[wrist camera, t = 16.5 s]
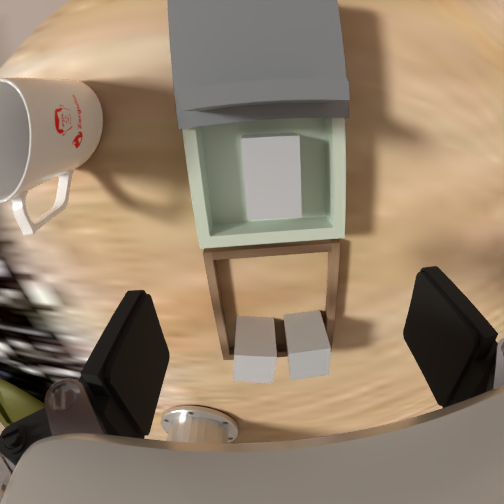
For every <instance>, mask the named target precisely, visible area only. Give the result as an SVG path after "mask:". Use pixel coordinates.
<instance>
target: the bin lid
mask: <svg viewBox="0 0 504 504" xmlns="http://www.w3.org/2000/svg"><path fill="white" fill-rule="evenodd" d="M168 20H169V36H170V50H171V62H172V73H173V84H174V94H175V104H176V113H177V121H178V129H185V128H191V127H198V126H206V125H214V124H223V123H232V122H243V121H255V120H269V119H288V118H349V107H348V100H350V93H349V79H347V78H346V66H345V56H344V47H343V38H342V30H341V23H340V16H339V9H338V3H337V0H168Z"/></svg>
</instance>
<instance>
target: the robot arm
mask: <svg viewBox="0 0 504 504" xmlns="http://www.w3.org/2000/svg"><path fill="white" fill-rule="evenodd" d="M403 335H404V339H405V341H406V343H407V345H408V347H409V349H410V350H411V352H412V354H413V356H414V358H415V360H416V362H417V363H418V365H419V367H420V369H421V371H422V373H423V375H424V377H425V379H426V381H427V383H428V385H429V387H430V389H431V391H432V393H433V395H434V397H435V399H436V401H437V403H438V404H439V405H440V406H442V407H443V408H442V409H439V410H436V411H433V412H430V413H427V414H423V415H420V416H417V417H413V418H410V419H406V420H402V421H399V422H395V423H391V424H386V425H382V426H378V427H373V428H369V429H364V430H359V431H354V432H348V433H343V434H337V435H330V436H323V437H316V438H308V439H299V440H289V441H276V442H260V443H230V442H232V441H233V440H235V438H236V437H237V435H238V425H237V423H236V422H235V421H234V420H233V419H232V418H231V417H229V416H228V415H226V414H224V413H222V412H220V411H217V410H214V409H210V408H206V407H200V406H179V407H174V408H171V409H169V410H167V411H166V412H165V413H164V414H163V416H162V420H161V424H162V427H163V429H164V430H165V431H166V432H167V433H168V438H167V441H160V440H149V439H144V436H145V435H148V434H149V433H150V429H151V425H152V421H153V418H154V414H155V410H156V406H157V402H158V399H159V395H160V391H161V388H162V384H163V380H164V377H165V373H166V370H167V366H168V363H169V350H168V347H167V344H166V341H165V338H164V336H163V333H162V330H161V327H160V323H159V320H158V317H157V314H156V311H155V308H154V304H153V301H152V298H151V296H150V294H146V292H145V291H144V290H134V291H128V292H127V293H126V294H125V296H124V298H123V299H122V301H121V303H120V304H119V306H118V308H117V309H116V311H115V313H114V314H113V316H112V318H111V320H110V321H109V323H108V325H107V326H106V328H105V330H104V332H103V333H102V335H101V337H100V339H99V341H98V342H97V344H96V346H95V348H94V350H93V351H92V353H91V355H90V357H89V359H88V361H87V363H86V364H85V366H84V368H83V370H82V372H81V377H80V379H79V381H78V380H75V379H64V380H60V381H58V382H57V383H55V384H53V385H52V386H51V387H50V388H49V390H48V391H47V393H46V395H45V399H44V402H45V407H44V408H42V409H40V410H38V411H36V412H34V413H32V414H30V415H28V416H26V417H24V418H22V419H20V420H18V421H16V422H14V423H12V424H10V425H9V426H7V427H6V428H5V429H4V430H3V431H2V433H1V435H0V504H504V338H503V339H501V340H500V341H499V342H498V343H497V342H496V341H495V340H496V337H497V335H498V333H497V332H496V331H495V330H494V328H493V327H492V326H491V325H490V324H489V322H488V321H487V320H486V319H485V318H484V316H483V315H482V314H481V313H480V312H479V311H478V310H477V308H476V307H475V306H474V305H473V304H472V303H471V302H470V301H469V299H468V298H467V297H466V296H465V295H464V294H463V293H462V292H461V291H460V290H459V289H458V288H457V286H456V285H455V284H454V283H453V282H452V281H451V280H450V279H449V278H448V277H447V276H446V275H445V274H444V273H443V272H442V271H441V270H440V269H439V268H438V267H437V266H433V267H425V268H422V269H421V271H420V272H419V273H418V274H417V276H416V280H415V285H414V290H413V294H412V299H411V303H410V307H409V311H408V315H407V319H406V323H405V327H404V331H403Z"/></svg>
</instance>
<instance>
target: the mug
mask: <svg viewBox="0 0 504 504" xmlns="http://www.w3.org/2000/svg"><path fill="white" fill-rule="evenodd" d="M102 129H103V112H102V107H101V104H100V101H99V99H98V97H97V95H96V94H95V92H94V91H93V90H92V89H91V88H90V87H89V86H87V85H86V84H84V83H82V82H80V81H76V80H67V79H51V78H0V204H1V203H5V202H7V201H9V200H11V201H12V205H13V213H14V216H15V218H16V220H17V222H18V224H19V226H20V228H21V230H22V232H23V235H24V236H25V235H30V234H34V233H35V232H36V231H37V230H38V229H39V228H40V227H42V226H43V225H44V224H46V223H47V222H48V221H49V220H51V219H52V218H53V217H55V216H56V215H57V214H59V213H60V212H61V211H63V210H64V209H65V207H66V206H67V203H68V199H69V192H70V185H71V179H72V174H73V171H74V169H76V168H78V167H79V166H81V165H82V164H84V163H85V162H86V161H87V160H88V159H89V158H90V157H91V155H92V154H93V153H94V151H95V149H96V147H97V145H98V143H99V141H100V138H101V134H102ZM58 176H59V183H58V189H57V195H56V201H55V204H54V206H53V207H52V208H51V209H50V210H48V211H47V212H46V213H44V214H43V215H42V216H40V217H39V218H38V219H36V220H35V221H34V222H32V221H31V220H30V218H29V216H28V213H27V210H26V205H25V199H26V195H27V192H28V190H30V189H32V188H34V187H36V186H38V185H40V184H43V183H45V182H47V181H49V180H51V179H53V178H55V177H58Z"/></svg>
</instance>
